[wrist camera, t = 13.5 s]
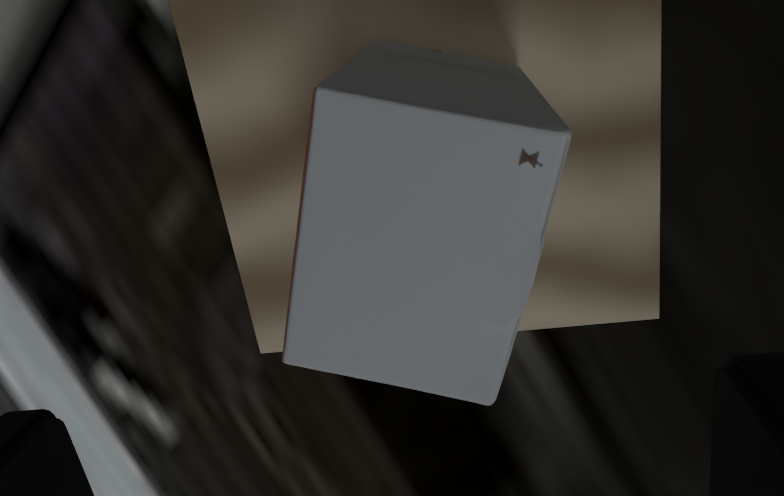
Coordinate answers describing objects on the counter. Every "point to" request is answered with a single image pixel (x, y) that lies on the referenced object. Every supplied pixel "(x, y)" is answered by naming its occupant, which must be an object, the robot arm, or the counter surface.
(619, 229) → the birch board
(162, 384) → the counter surface
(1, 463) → the robot arm
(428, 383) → the small box
